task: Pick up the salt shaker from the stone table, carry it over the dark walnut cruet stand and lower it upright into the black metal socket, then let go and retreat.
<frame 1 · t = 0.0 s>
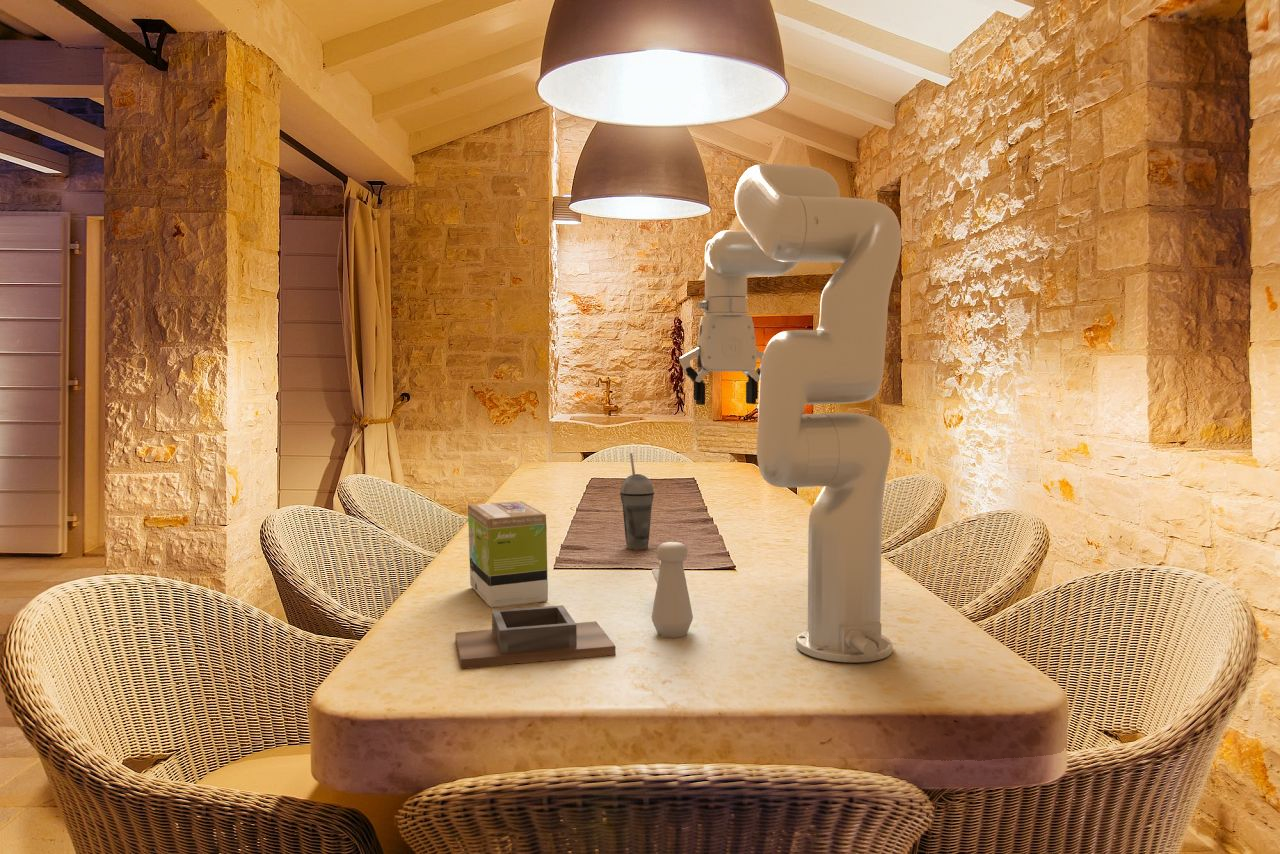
hand: (725, 404, 162), 31 cm above the table, tool pointing down, fingers open, 9 cm apart
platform: (667, 607, 144), on the table
cruet stand: (533, 647, 122), on the table
beverage cup: (637, 548, 189), on the table
salt shaker: (672, 635, 128), on the table
tea box: (507, 596, 151), on the table
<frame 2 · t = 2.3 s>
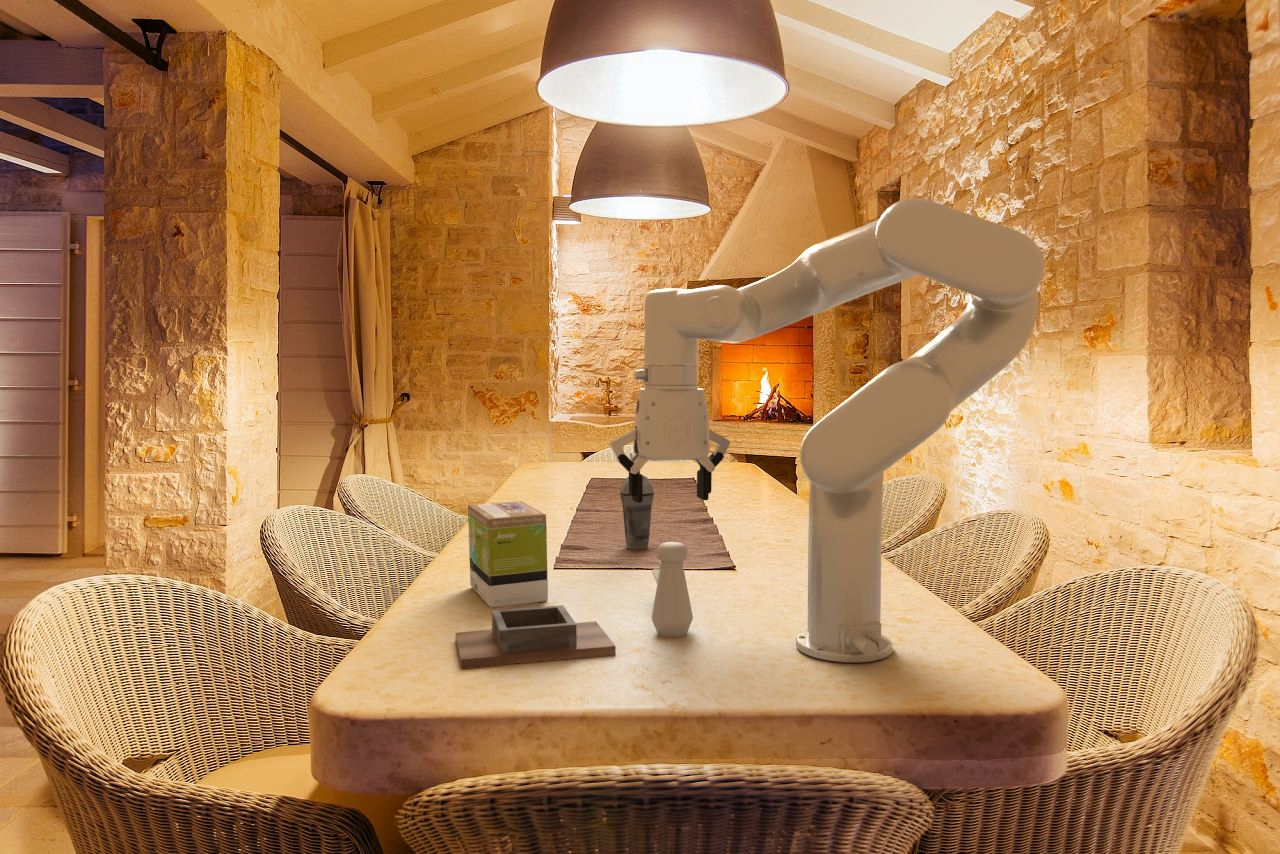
hand: (670, 500, 127), 19 cm above the table, tool pointing down, fingers open, 9 cm apart
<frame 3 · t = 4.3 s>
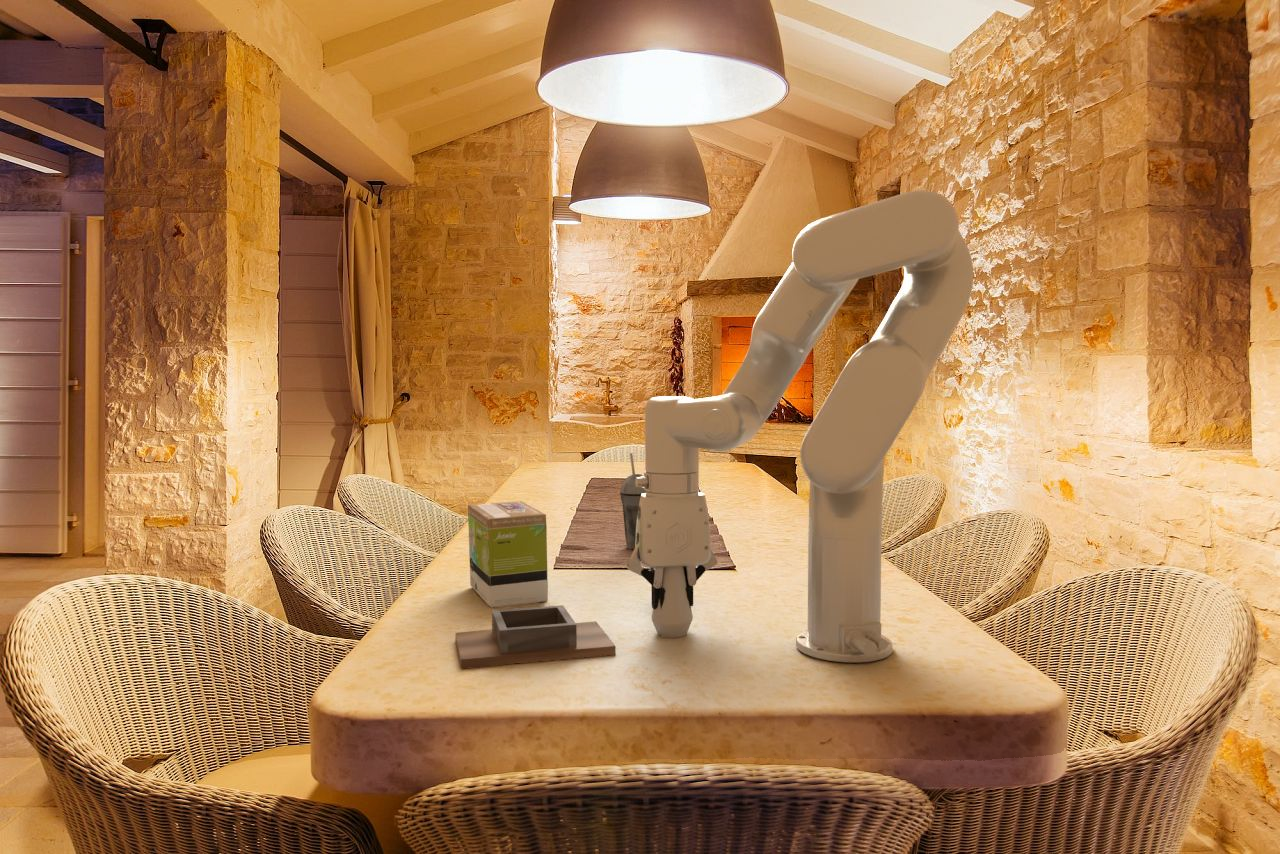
hand: (672, 611, 128), 3 cm above the table, tool pointing down, fingers closed on salt shaker, 3 cm apart
salt shaker: (672, 635, 128), on the table, touching gripper
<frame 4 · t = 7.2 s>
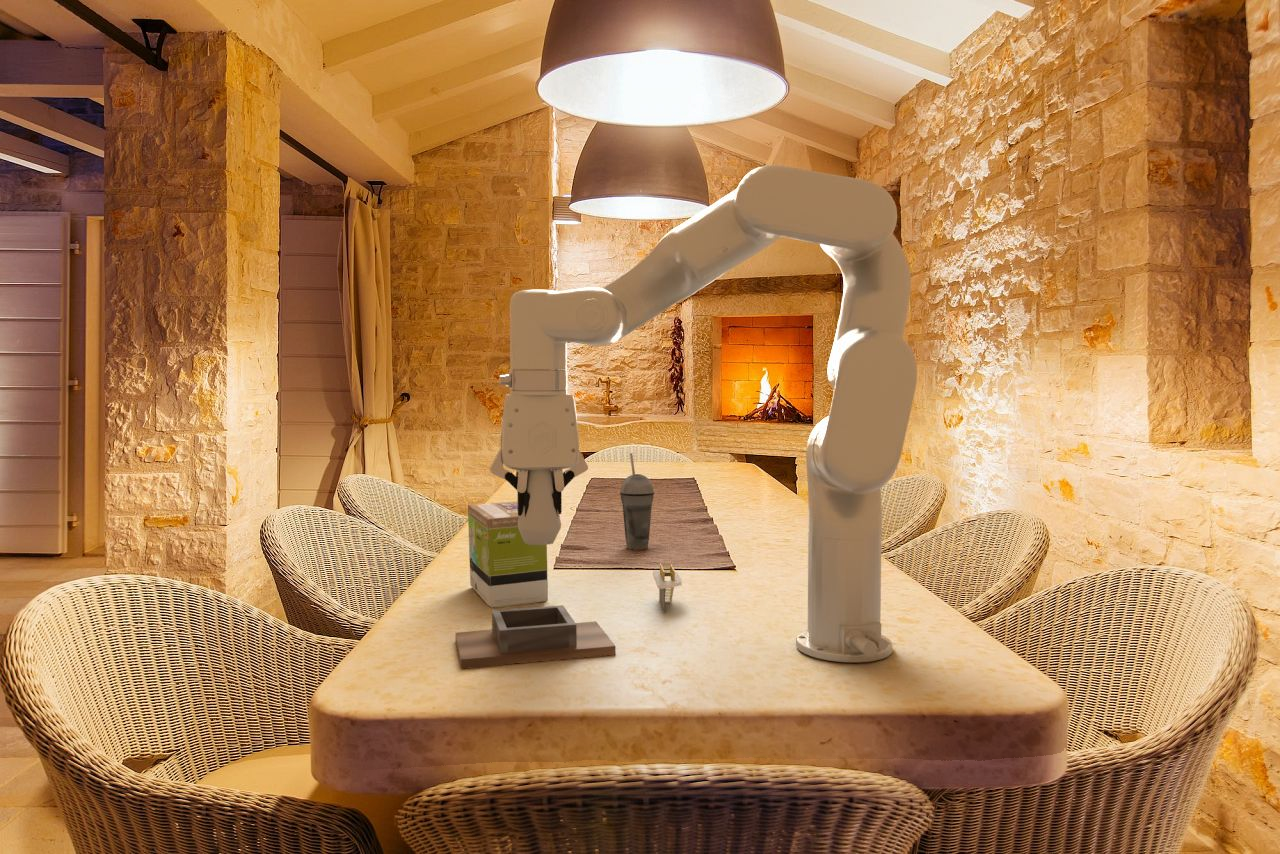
hand: (539, 519, 121), 18 cm above the table, tool pointing down, fingers closed on salt shaker, 3 cm apart
salt shaker: (539, 543, 121), point 14 cm above the table, touching gripper
when the fingers open (6 cm above the table, at t = 10.3 s): salt shaker drops 1 cm, resting on cruet stand.
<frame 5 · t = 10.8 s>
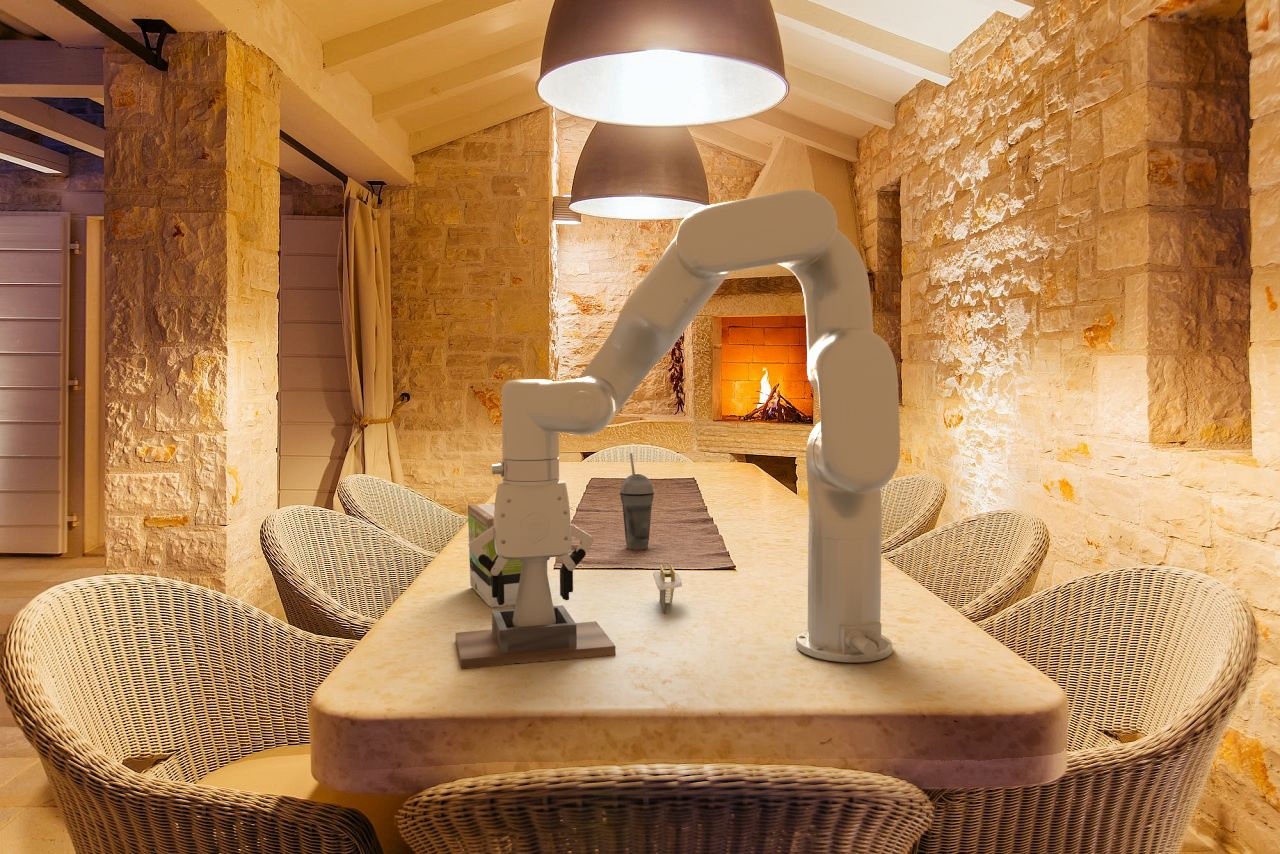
hand: (532, 599, 121), 7 cm above the table, tool pointing down, fingers open, 8 cm apart
salt shaker: (534, 640, 122), point 1 cm above the table, touching cruet stand
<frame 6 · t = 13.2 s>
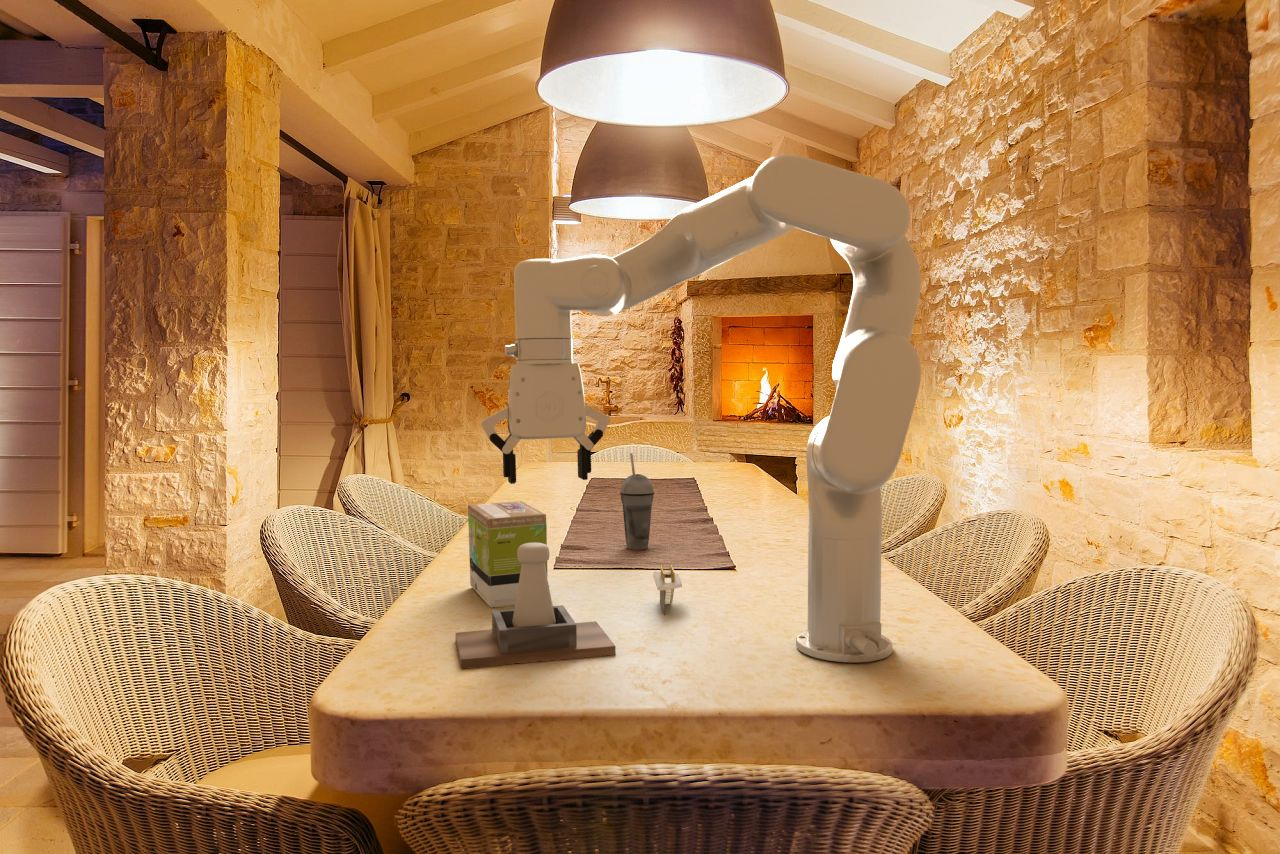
hand: (547, 480, 121), 23 cm above the table, tool pointing down, fingers open, 9 cm apart
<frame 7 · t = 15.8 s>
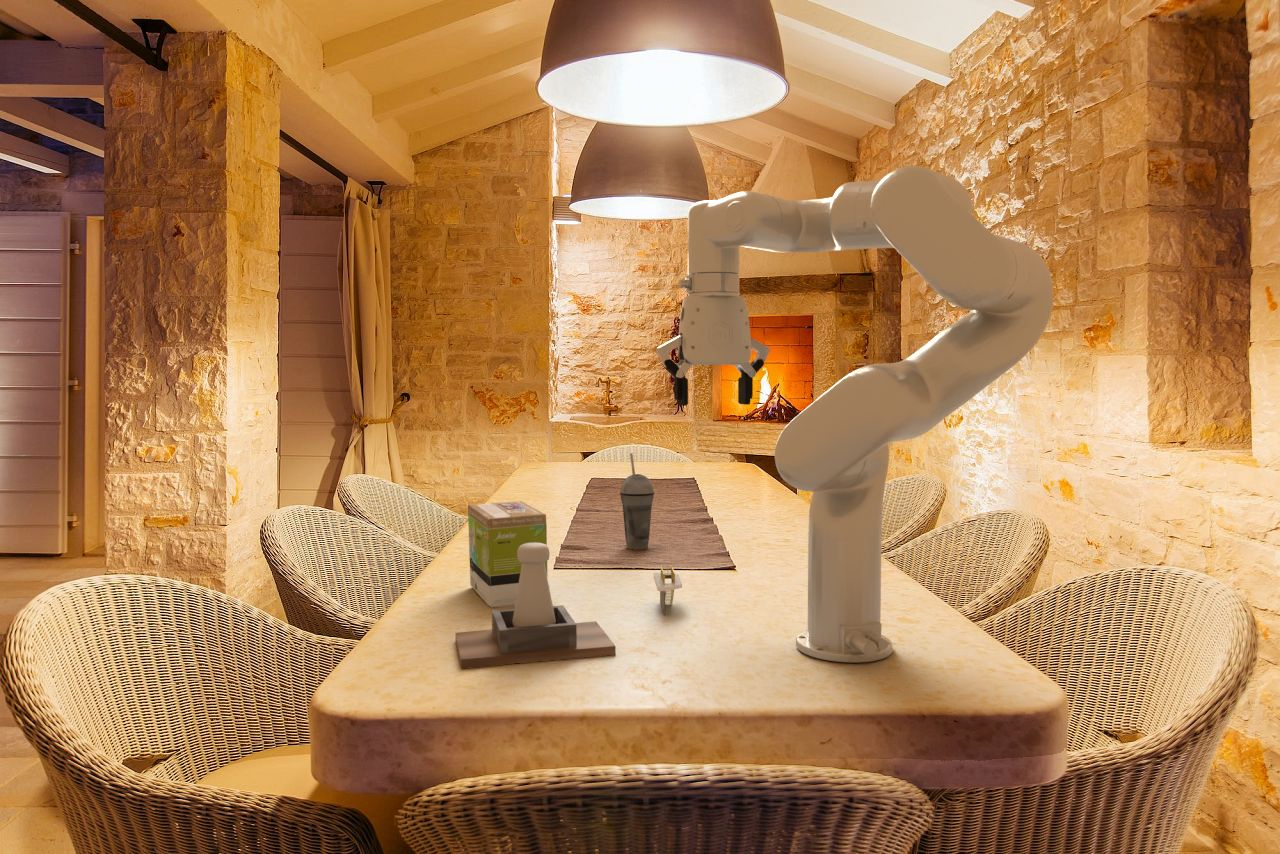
hand: (713, 404, 133), 32 cm above the table, tool pointing down, fingers open, 9 cm apart
at the end: salt shaker 0.2 cm off-centre on the cruet stand, point 1.0 cm above the cruet stand's base; salt shaker tilted 0°; the gripper is holding nothing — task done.
